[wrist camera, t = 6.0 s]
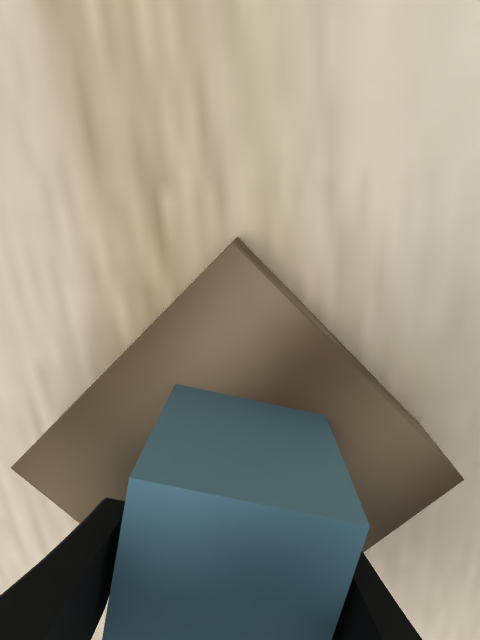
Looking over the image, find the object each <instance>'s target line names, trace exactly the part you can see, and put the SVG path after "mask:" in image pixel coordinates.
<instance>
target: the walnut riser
mask: <svg viewBox="0 0 480 640" xmlns="http://www.w3.org/2000/svg"><path fill="white" fill-rule="evenodd" d="M175 384H179V385H183V386H188V387H193V388H198V389H202V390H207V391H212V392H217V393H221V394H226V395H231V396H236V397H241V398H245V399H250V400H255V401H260V402H264V403H269V404H274V405H279V406H283V407H288V408H293V409H298V410H303V411H307V412H312V413H317V414H322V415H326V417H327V420H328V422H329V425H330V427H331V430H332V432H333V435H334V437H335V440H336V442H337V445H338V448H339V450H340V453H341V455H342V458H343V460H344V463H345V465H346V468H347V470H348V473H349V475H350V478H351V480H352V483H353V485H354V488H355V490H356V493H357V495H358V498H359V500H360V503H361V505H362V508H363V510H364V513H365V515H366V518H367V520H368V523H369V526H370V527H369V530H368V533H367V536H366V539H365V542H364V545H363V548H362V552H364V551H366V550H367V549H369V548H370V547H371V546H373V545H374V544H376V543H377V542H378V541H380V540H381V539H382V538H384V537H385V536H387V535H388V534H389V533H391V532H392V531H394V530H395V529H396V528H398V527H399V526H400V525H402V524H403V523H405V522H406V521H407V520H409V519H410V518H412V517H413V516H414V515H416V514H417V513H419V512H420V511H421V510H423V509H424V508H425V507H427V506H428V505H430V504H431V503H432V502H434V501H435V500H437V499H438V498H439V497H441V496H442V495H443V494H445V493H446V492H448V491H449V490H450V489H452V488H453V487H455V486H456V485H457V484H459V483H460V482H461V481H463V480H464V479H463V477H462V476H461V475H460V474H459V472H458V471H457V470H456V469H455V467H454V466H453V465H452V463H451V462H450V461H449V460H448V458H447V457H446V456H445V455H444V453H443V452H442V451H441V450H440V448H439V447H438V446H437V445H436V443H435V442H434V441H433V440H432V438H431V437H430V436H429V435H428V433H427V432H426V431H425V430H424V428H423V427H422V426H421V425H420V424H419V423H418V421H417V420H416V419H415V418H414V417H413V416H412V415H411V414H410V413H409V412H408V411H407V410H406V409H405V408H404V407H403V406H402V405H401V404H400V403H399V402H398V401H397V400H396V399H395V398H394V397H393V396H392V395H391V394H390V393H389V392H388V391H387V390H386V389H385V388H384V387H383V386H382V385H381V384H380V382H379V381H378V380H377V379H376V378H375V377H374V376H373V375H372V374H371V373H370V372H369V371H368V370H367V369H366V368H365V367H364V366H363V365H362V364H361V363H360V362H359V361H358V360H357V359H356V358H355V357H354V356H353V355H352V354H351V353H350V352H349V351H348V350H347V349H346V348H345V347H344V346H343V345H342V343H341V342H340V341H339V340H338V339H337V338H336V337H335V336H334V335H333V334H332V333H331V332H330V331H329V330H328V329H327V328H326V327H325V326H324V325H323V324H322V323H321V322H320V321H319V320H318V319H317V318H316V317H315V316H314V315H313V314H312V313H311V312H310V311H309V310H308V309H307V308H306V307H305V305H304V304H303V303H302V302H301V301H300V300H299V299H298V298H297V297H296V296H295V295H294V294H293V293H292V292H291V291H290V290H289V289H288V288H287V287H286V286H285V285H284V284H283V283H282V282H281V281H280V280H279V279H278V278H277V277H276V276H275V275H274V274H273V273H272V272H271V271H270V270H269V269H268V268H267V266H266V265H265V264H264V263H263V262H262V261H261V260H260V259H259V258H258V257H257V256H256V255H255V254H254V253H253V252H252V251H251V250H250V249H249V248H248V247H247V246H246V245H245V244H244V243H243V242H242V241H241V240H240V239H239V238H238V237H237V238H236V239H235V240H234V241H233V242H232V243H231V244H230V245H229V246H228V247H227V248H226V249H225V250H224V251H223V252H222V253H221V254H220V255H219V256H218V257H217V258H216V259H215V260H214V261H213V262H212V263H211V264H210V265H209V266H208V267H207V268H206V270H205V271H204V272H203V273H202V274H201V275H200V276H199V277H198V278H197V279H196V280H195V281H194V282H193V283H192V284H191V285H190V286H189V287H188V288H187V289H186V290H185V291H184V292H183V293H182V294H181V295H180V296H179V297H178V298H177V299H176V300H175V301H174V302H173V303H172V304H171V305H170V306H169V307H168V308H167V309H166V310H165V311H164V312H163V313H162V314H161V315H160V316H159V317H158V318H157V319H156V320H155V321H154V322H153V323H152V324H151V325H150V326H149V327H148V328H147V329H146V330H145V332H144V333H143V334H142V335H141V336H140V337H139V338H138V339H137V340H136V341H135V342H134V343H133V344H132V345H131V346H130V347H129V348H128V349H127V350H126V351H125V352H124V353H123V354H122V355H121V356H120V357H119V358H118V359H117V360H116V361H115V362H114V363H113V364H112V365H111V366H110V367H109V368H108V369H107V370H106V371H105V372H104V373H103V374H102V375H101V376H100V377H99V378H98V379H97V380H96V381H95V382H94V383H93V384H92V385H91V386H90V387H89V388H88V389H87V390H86V391H85V392H84V394H83V395H82V396H81V397H80V398H79V399H78V400H77V401H76V402H75V403H74V404H73V405H72V406H71V407H70V408H69V409H68V410H67V411H66V412H65V413H64V414H63V415H62V416H61V417H60V418H59V419H58V420H57V421H56V422H55V423H54V424H53V425H52V426H51V427H50V428H49V429H48V430H47V431H46V432H45V433H44V434H43V435H42V436H41V437H40V438H39V440H38V441H37V442H36V443H35V444H34V445H33V446H32V447H31V448H30V449H29V450H28V451H27V452H26V453H25V454H24V455H23V456H22V457H21V458H20V459H19V460H18V461H17V462H16V463H15V464H14V465H13V466H12V467H11V469H13V470H14V471H15V472H16V473H18V474H19V475H20V476H21V477H23V478H24V479H25V480H26V481H28V482H29V483H30V484H31V485H33V486H34V487H35V488H36V489H38V490H39V491H40V492H41V493H43V494H44V495H45V496H46V497H48V498H49V499H50V500H51V501H53V502H54V503H55V504H56V505H58V506H59V507H60V508H61V509H63V510H64V511H65V512H66V513H68V514H69V515H70V516H71V517H73V518H74V519H75V520H76V521H78V522H79V523H81V522H82V521H83V520H84V519H85V518H86V517H87V516H88V515H89V514H90V513H91V512H92V511H93V510H94V509H95V508H96V506H97V505H98V504H99V503H100V502H101V501H102V500H103V499H105V498H112V499H117V500H122V501H125V500H126V494H127V488H128V482H129V477H130V475H131V473H132V471H133V469H134V467H135V465H136V463H137V461H138V459H139V456H140V454H141V452H142V450H143V448H144V446H145V444H146V442H147V440H148V438H149V436H150V434H151V432H152V430H153V428H154V426H155V424H156V422H157V420H158V418H159V416H160V414H161V412H162V410H163V407H164V405H165V403H166V401H167V399H168V397H169V395H170V393H171V391H172V389H173V387H174V385H175Z"/></svg>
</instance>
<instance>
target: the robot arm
mask: <svg viewBox="0 0 480 640" xmlns="http://www.w3.org/2000/svg"><path fill="white" fill-rule="evenodd" d="M124 506H125V501H122V500H117V499H112V498H105V499H103V500H102V501H101V502H100V503H99V504H98V505H97V506H96V508H95V509H94V510H93V511H92V512H91V513H90V514H89V515H88V516H87V517H86V518H85V519H84V520H83V521H82V522H81V523H80V524H79V525H78V526H77V527H76V528H75V529H74V530H73V531H72V532H71V533H70V534H69V535H68V536H67V537H66V538H65V539H64V540H63V541H62V542H61V543H60V544H59V545H58V546H57V547H55V548H54V549H53V550H52V551H51V552H50V553H49V554H48V555H47V556H46V557H45V558H44V559H43V560H41V561H40V562H39V563H38V564H37V565H36V566H35V567H33V568H32V569H31V570H30V571H29V572H28V573H26V574H25V575H24V576H23V577H22V578H21V579H19V580H18V581H17V582H16V583H15V584H13V585H12V586H11V587H10V588H9V589H8V590H6V591H5V592H4V593H3V594H1V595H0V640H91V638H92V636H93V634H94V632H95V629H96V627H97V625H98V623H99V620H100V618H101V616H102V614H103V611H104V609H105V606H106V604H107V601H108V598H109V595H110V590H111V584H112V578H113V572H114V566H115V560H116V554H117V548H118V542H119V536H120V530H121V524H122V518H123V512H124ZM332 640H422V638H421V637H420V636H419V634H418V633H417V631H416V630H415V629H414V627H413V626H412V624H411V623H410V622H409V620H408V619H407V617H406V616H405V614H404V613H403V612H402V610H401V609H400V607H399V606H398V604H397V603H396V601H395V600H394V598H393V597H392V595H391V594H390V592H389V591H388V589H387V588H386V587H385V585H384V584H383V582H382V581H381V579H380V578H379V576H378V574H377V573H376V571H375V570H374V568H373V567H372V565H371V564H370V562H369V561H368V559H367V558H366V556H365V555H364V553H363V552H362V551H361V554H360V557H359V560H358V563H357V566H356V569H355V572H354V575H353V578H352V581H351V584H350V587H349V590H348V593H347V596H346V599H345V602H344V605H343V608H342V610H341V613H340V616H339V619H338V622H337V625H336V628H335V631H334V634H333V637H332Z"/></svg>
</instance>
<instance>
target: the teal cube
mask: <svg viewBox="0 0 480 640" xmlns="http://www.w3.org/2000/svg"><path fill="white" fill-rule="evenodd" d="M369 527H370V526H369V523H368V520H367V518H366V515H365V513H364V510H363V508H362V505H361V503H360V500H359V498H358V495H357V493H356V490H355V488H354V485H353V483H352V480H351V478H350V475H349V473H348V470H347V468H346V465H345V463H344V460H343V458H342V455H341V453H340V450H339V448H338V445H337V442H336V440H335V437H334V435H333V432H332V430H331V427H330V425H329V422H328V420H327V417H326V415H322V414H317V413H312V412H307V411H303V410H298V409H293V408H288V407H283V406H279V405H274V404H269V403H264V402H260V401H255V400H250V399H245V398H241V397H236V396H231V395H226V394H221V393H217V392H212V391H207V390H202V389H198V388H193V387H188V386H183V385H179V384H175V385H174V387H173V389H172V391H171V393H170V395H169V397H168V399H167V401H166V403H165V405H164V407H163V410H162V412H161V414H160V416H159V418H158V420H157V422H156V424H155V426H154V428H153V430H152V432H151V434H150V436H149V438H148V440H147V442H146V444H145V446H144V448H143V450H142V452H141V454H140V456H139V459H138V461H137V463H136V465H135V467H134V469H133V471H132V473H131V475H130V477H129V482H128V488H127V494H126V500H125V506H124V512H123V518H122V524H121V530H120V536H119V542H118V548H117V554H116V560H115V566H114V572H113V578H112V584H111V590H110V596H109V602H108V608H107V614H106V620H105V626H104V632H103V638H102V640H332V637H333V634H334V631H335V628H336V625H337V622H338V619H339V616H340V613H341V610H342V608H343V605H344V602H345V599H346V596H347V593H348V590H349V587H350V584H351V581H352V578H353V575H354V572H355V569H356V566H357V563H358V560H359V557H360V554H361V551H362V548H363V545H364V542H365V539H366V536H367V533H368V530H369Z"/></svg>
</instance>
